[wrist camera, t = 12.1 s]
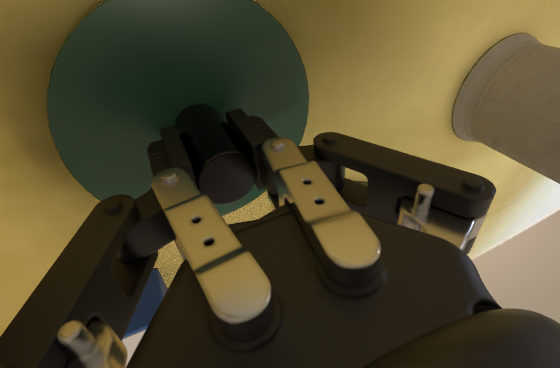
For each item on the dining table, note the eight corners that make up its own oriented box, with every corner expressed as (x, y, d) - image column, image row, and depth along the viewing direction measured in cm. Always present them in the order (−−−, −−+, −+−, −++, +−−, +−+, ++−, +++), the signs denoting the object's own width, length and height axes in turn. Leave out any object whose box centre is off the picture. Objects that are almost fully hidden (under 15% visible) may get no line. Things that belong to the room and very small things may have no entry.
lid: (-22, 1, 11) (-101, 38, 7) (295, -40, 15) (379, -33, 10) (116, 239, 19) (120, 330, 15) (303, 176, 22) (354, 234, 18)
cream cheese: (86, 293, 20) (83, 353, 17) (157, 267, 22) (166, 319, 19) (122, 341, 24) (126, 396, 21) (181, 316, 26) (192, 365, 23)
